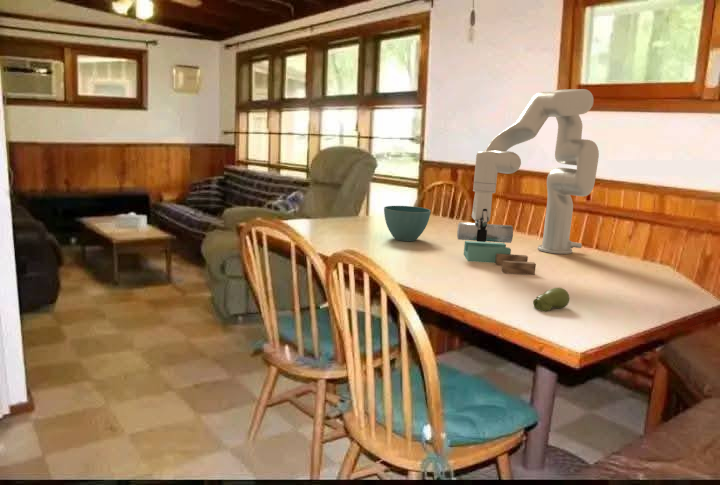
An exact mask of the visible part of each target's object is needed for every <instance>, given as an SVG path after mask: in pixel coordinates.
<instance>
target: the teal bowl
mask: <svg viewBox="0 0 720 485" xmlns="http://www.w3.org/2000/svg"><path fill="white" fill-rule="evenodd" d="M383 213H384V214H383V215H384V221H385V224H386V227H387V229H388V231H389V233H390V234H391V236H392V237H393V238H394V239H395V240H397V241H401V242H414V241H416V240H418V238H420V237H421V235H422V234H423V232H424V231H425V230H426V228H427V226H428V222H429V220H430V216H431V209H429V208H426V207H419V206H413V205H386V206H384V207H383Z"/></svg>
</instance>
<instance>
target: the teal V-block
mask: <svg viewBox="0 0 720 485" xmlns="http://www.w3.org/2000/svg"><path fill="white" fill-rule="evenodd" d="M463 246H464V248H463V256H464V257H465V259H466V261H467V262H472V263H473V262H474V263H490V264H495V261H496V254H512V253H511V252H512V248H510V247H508V246H507V243H504V242H488V241H486V242H479V241H472V240H464V244H463Z"/></svg>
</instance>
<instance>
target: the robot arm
mask: <svg viewBox="0 0 720 485" xmlns="http://www.w3.org/2000/svg"><path fill="white" fill-rule="evenodd" d="M594 102H595V101H594V95H593V94H592V92H591V91H590V90H588V89H586V88H581V89H580V88H579V89H578V88H571V89H568V88H566V89H564V88H563V89H555V90H554V91H541V92H537V93H535V94H534V95H533V96H532V97H531V99H530V100H529V102H528V103H527V105H526V106H525V108H524V110H522V112H521V113H520V115H519V116H518V118H517V119H516V121H515V122H514V123H513V124H512V125H510V126H509V127H507V128H506V129H504V130H502V131H501V132H500V133H499V134H497V135H496V136H495V137H494V138H493V139H492V140H491V141H490V142H489V144H488V145H487V147H486V149H485V150H479V151H478V152H477V153H476V156H475V167H474V176H473V187H472V188H473V189H472V191H473V192H474V198H473V204H472V212H471V218H472V219H473V220H474V223H479V225H478V230H477V239H476V240H477V241H478V242H487V241H486V236H487V224H488V223H489V222H490V219H491V214H492V213H491V212H492V202H493V201H492V200H493V194H495V193H496V190H497V182H498V180H497V179H498V173H500V174H507V175H508V174H509V175H510V174H514V173H515V172H517V171H518V170H519V169H520V168H521V165H522V161H521V157H520V156H519V154H517V153H516V152H514V151H508V150H509V149H511V148H513V147H514V146H516V145H519V144H522V143H526V142H527V141H530V140H532V139H534V138H535V137H537V135H538V133H539V132H540V130H541V129H542V127H543V126H544V124H546V122H547V120H548V118H550V117H551V118H552V117H553V118H555V119H556V121H557V134H556V135H557V136H556V142H555V150H554V157H555V158H554V159H555V161H556V162H557V163H559V164H562V165H570V166H576V169H575V168H570V167H569V168H567V167H556V168H553V169H552V170H550V171H549V172H548V174H547V177H546V190H547V201H546V208H545V217H544V228H543V237H542V244H538V245H537V250H538V251H541V252H543V253H544V252H545V253H548V254H549V253H550V254H557V255H559V254H560V255H569V254H572V253H573V248H575V249H577V248H578V249H581V248H583V244H582V243H581V242H575V241H572V240H570V236H571V226H572V220H573V219H572V218H573V211H574V203H573V199H572V196H576V197H586V196H589V195H590V194H591V193H592V191H593V190H594V187H595V184H596V183H595V182H596V177H597V170H598V164H599V155H600V150H599V148H598V144H596V142H595V141H593V140H590V139H584V138H583V139H582V135H583V122H582V118H581V117H580V115H584V114H587V113H588V112H589V111H590V110H591V109H592V107H593V106H594Z"/></svg>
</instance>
